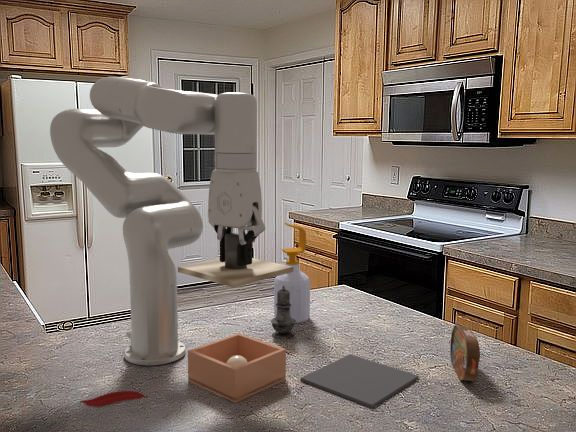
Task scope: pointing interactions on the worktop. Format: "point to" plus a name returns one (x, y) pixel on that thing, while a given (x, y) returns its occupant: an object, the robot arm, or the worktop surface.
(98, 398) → the cayenne pepper
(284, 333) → the salt shaker
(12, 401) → the worktop surface
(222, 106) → the robot arm
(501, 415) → the worktop surface
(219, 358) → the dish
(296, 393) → the worktop surface
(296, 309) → the soap bottle
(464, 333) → the tin
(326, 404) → the worktop surface
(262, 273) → the lid
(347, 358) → the mat
